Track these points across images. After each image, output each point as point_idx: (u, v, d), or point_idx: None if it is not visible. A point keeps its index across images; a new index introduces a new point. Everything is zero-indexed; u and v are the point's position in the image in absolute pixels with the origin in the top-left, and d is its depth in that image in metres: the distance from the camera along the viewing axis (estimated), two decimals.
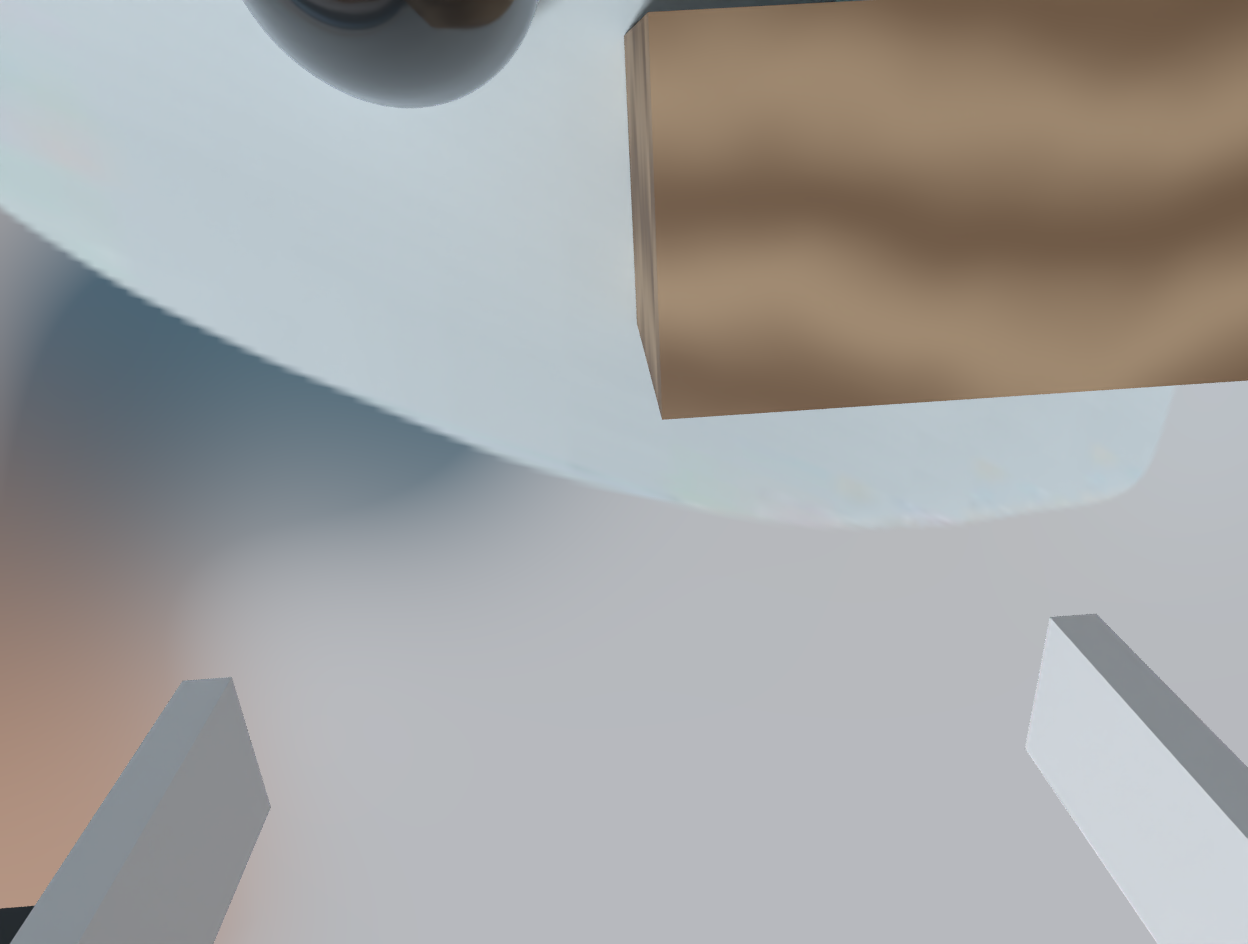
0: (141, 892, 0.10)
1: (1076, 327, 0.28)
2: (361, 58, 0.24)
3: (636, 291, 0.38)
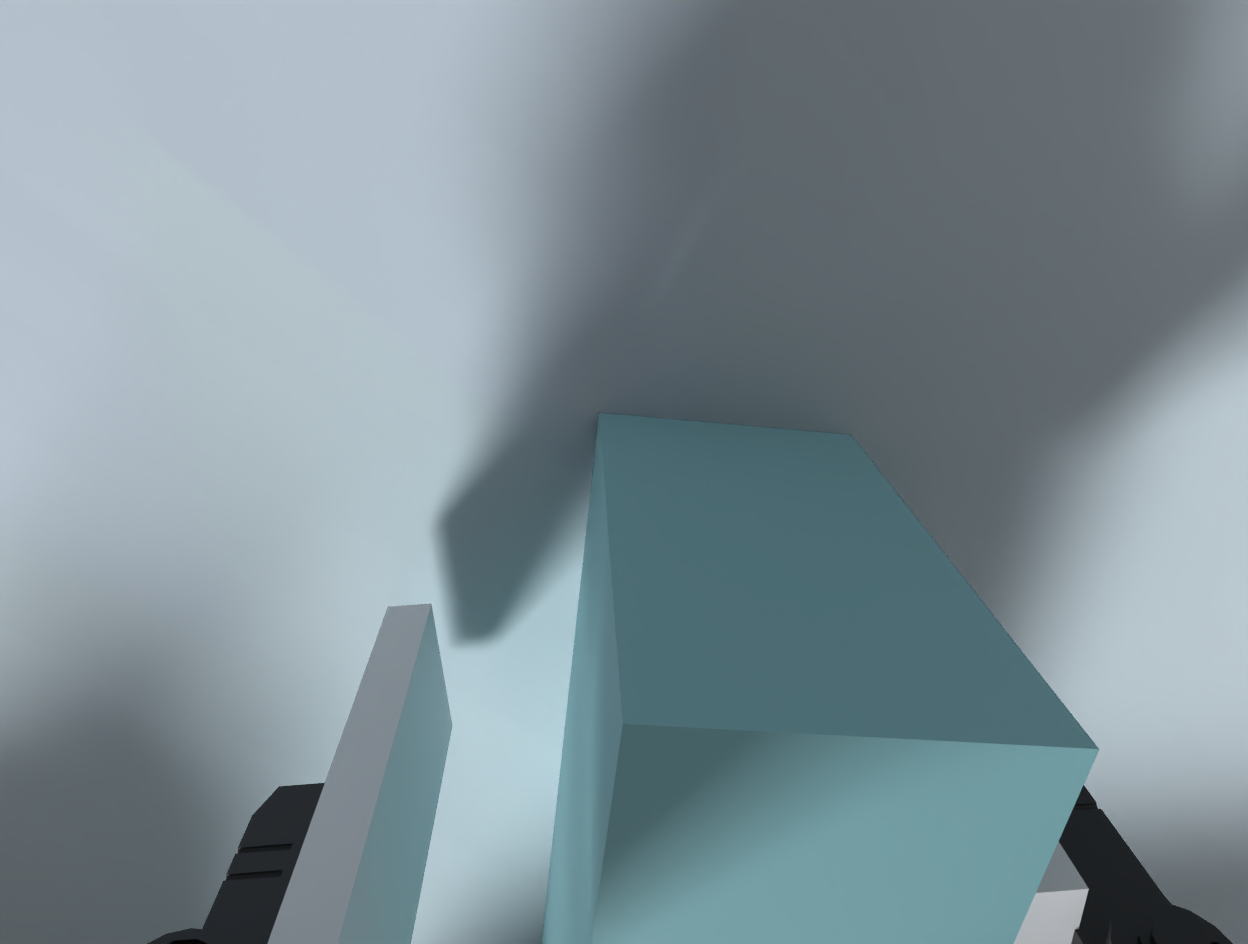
0: (400, 772, 0.12)
1: None
2: None
3: None
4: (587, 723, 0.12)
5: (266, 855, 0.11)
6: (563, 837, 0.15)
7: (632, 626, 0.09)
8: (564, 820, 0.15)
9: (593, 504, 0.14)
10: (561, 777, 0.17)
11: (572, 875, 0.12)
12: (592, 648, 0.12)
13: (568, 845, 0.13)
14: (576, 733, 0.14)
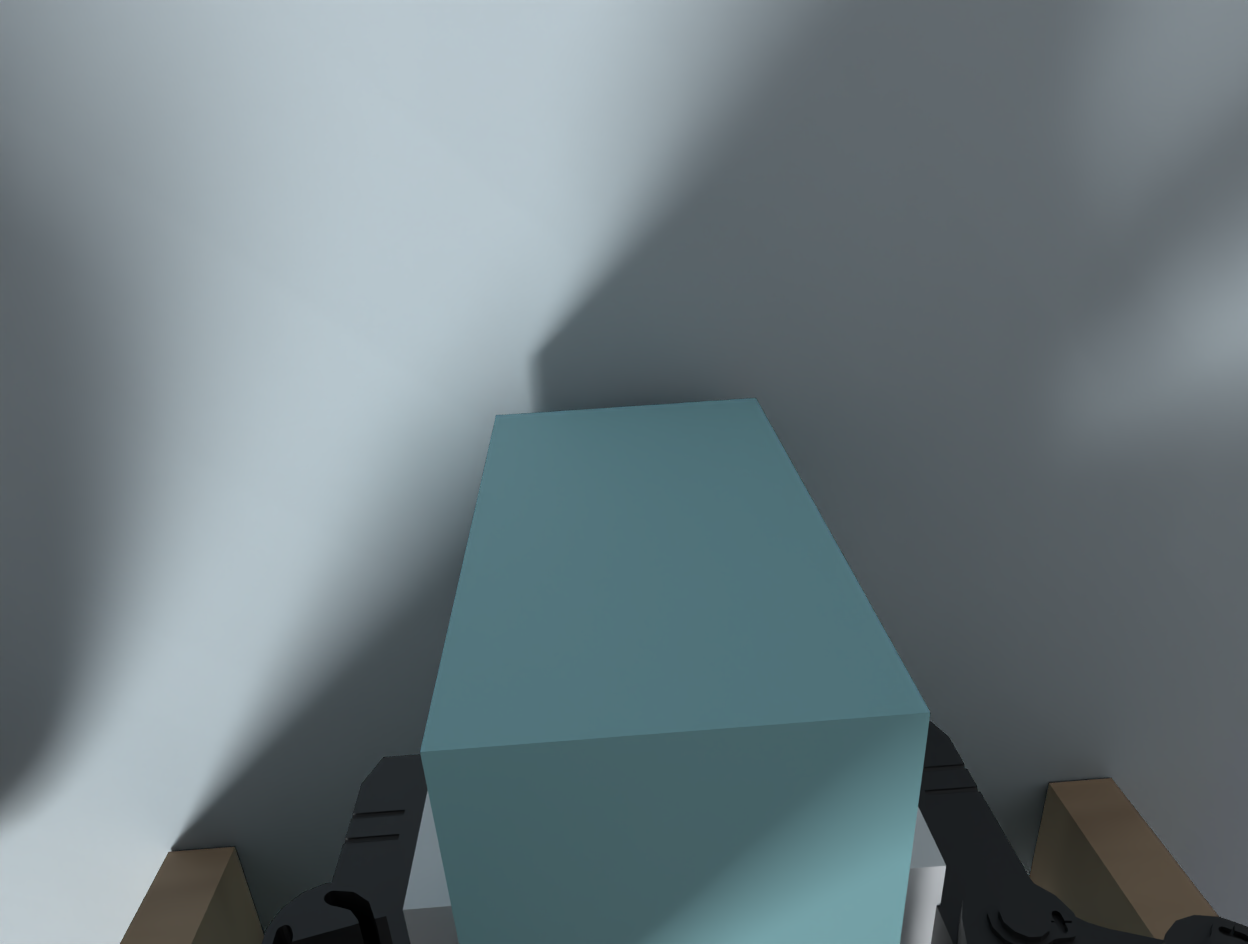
0: None
1: None
2: None
3: None
4: None
5: (381, 820, 0.11)
6: None
7: (461, 644, 0.09)
8: None
9: None
10: None
11: None
12: None
13: None
14: None
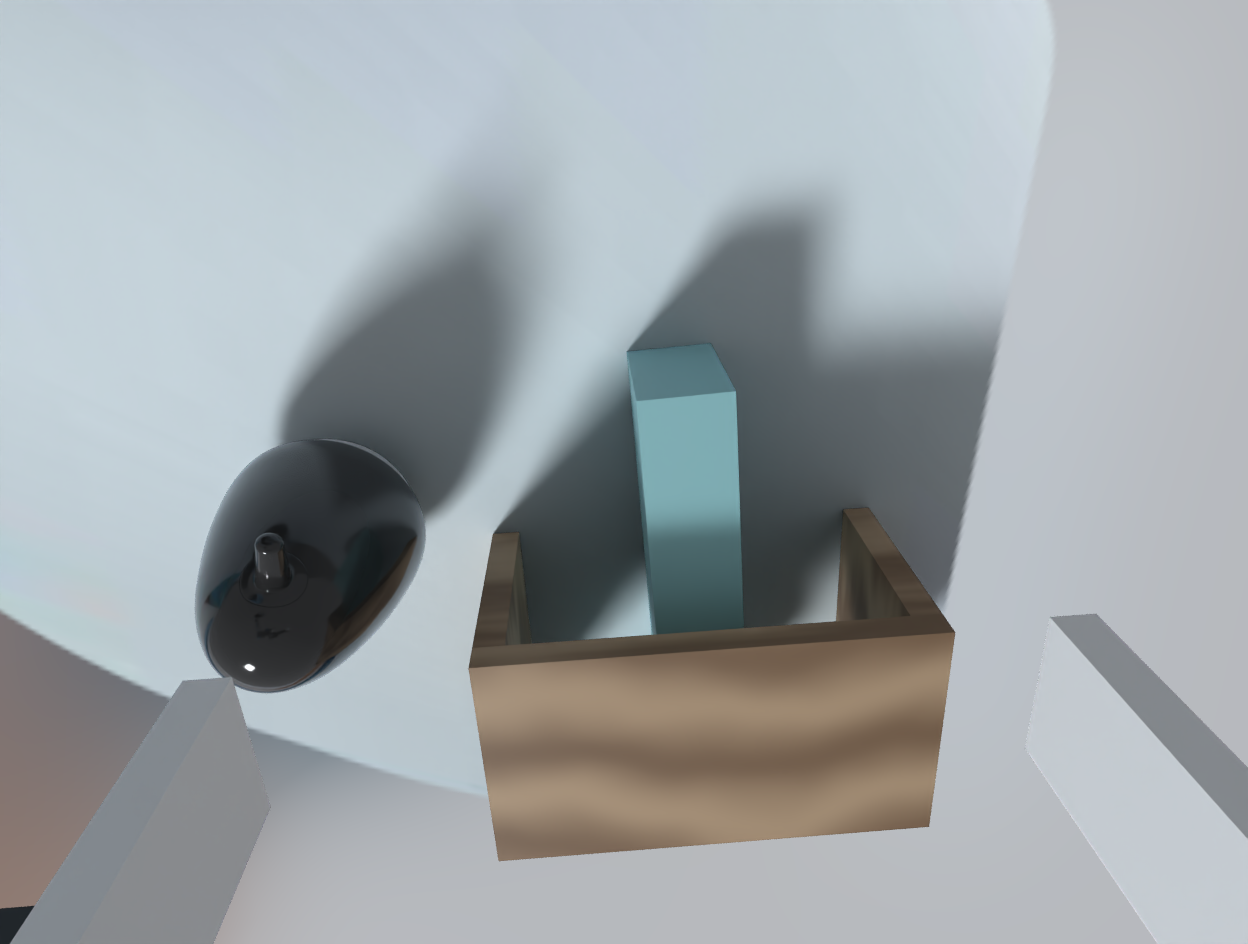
0: (141, 892, 0.10)
1: (768, 806, 0.42)
2: None
3: None
4: (636, 432, 0.42)
5: None
6: (640, 490, 0.46)
7: (638, 389, 0.40)
8: None
9: None
10: None
11: None
12: (634, 412, 0.42)
13: (640, 481, 0.44)
14: None
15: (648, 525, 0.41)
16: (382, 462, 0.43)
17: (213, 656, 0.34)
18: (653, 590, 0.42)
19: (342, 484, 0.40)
